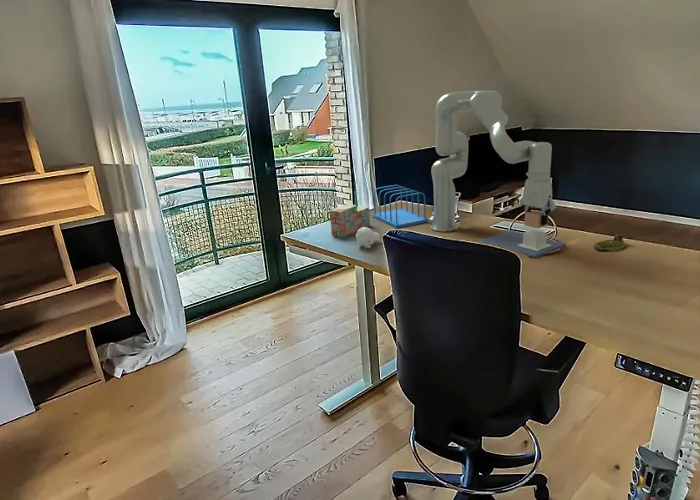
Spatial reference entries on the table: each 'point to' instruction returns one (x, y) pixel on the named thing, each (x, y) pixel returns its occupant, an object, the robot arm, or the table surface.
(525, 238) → the base block
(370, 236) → the white animal figurine
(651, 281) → the table surface
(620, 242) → the seal
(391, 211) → the file sorter
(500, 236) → the board
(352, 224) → the stack of blocks
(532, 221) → the top block
